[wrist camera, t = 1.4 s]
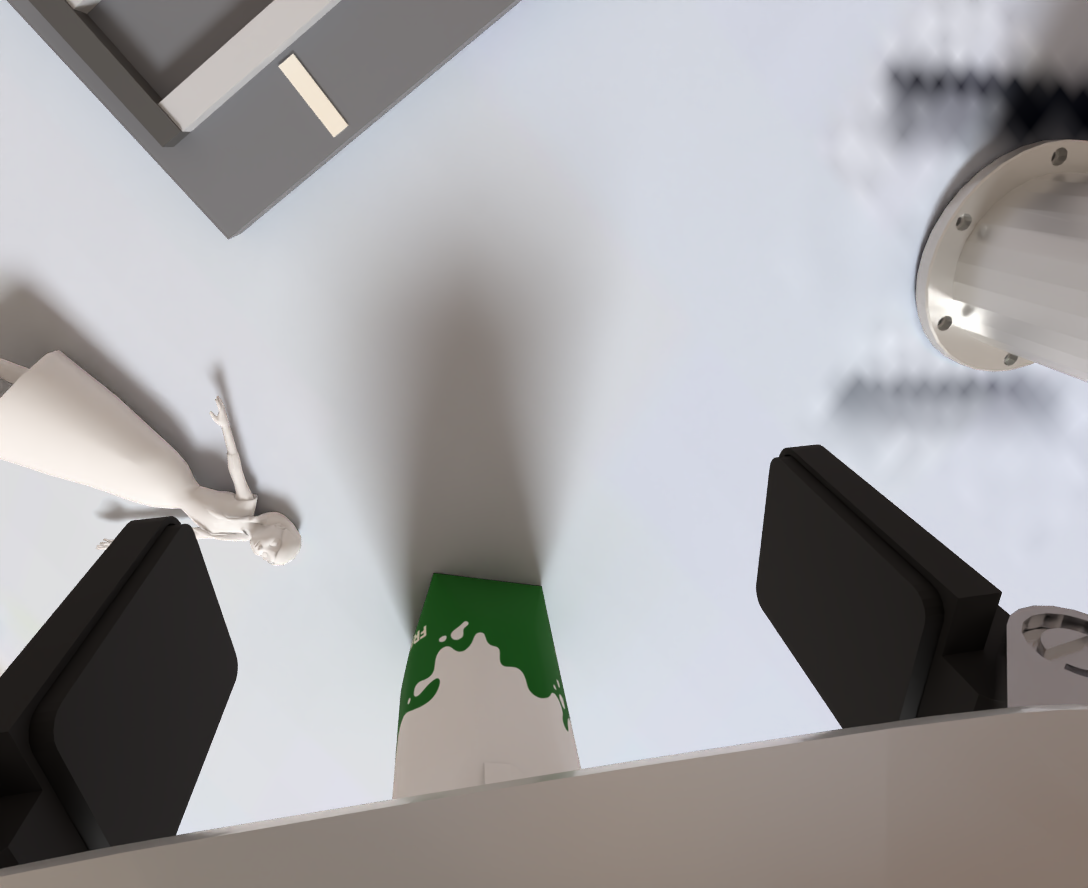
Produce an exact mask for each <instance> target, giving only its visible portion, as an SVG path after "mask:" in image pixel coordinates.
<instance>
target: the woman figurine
mask: <svg viewBox="0 0 1088 888" xmlns="http://www.w3.org/2000/svg"><path fill="white" fill-rule="evenodd" d="M0 377H1V378H3V379H4V380H6V381H8V382H10V383H12V384H13V385H12V386H11V387H10V388H9V390H8V391H7V392H6V393H5V394H4V395H3V396H2V397H1V398H0V459H2V460H5V461H8V462H11V463H14V464H17V465H20V466H23V467H26V468H29V469H33V470H36V471H39V472H42V473H45V474H48V475H51V476H54V477H58V478H62V479H65V480H69V481H72V482H76V483H79V484H83V485H87V486H90V487H93V488H96V489H99V490H101V491H104V492H107V493H110V494H113V495H116V496H119V497H121V498H124V499H127V500H129V501H133V502H136V503H140V504H143V505H147V506H150V507H158V508H169V509H175V508H181V509H182V510H183V511H184V512H185V513H186V514H187V515H188V516H189V517H190V518H191V519H192V520H193V522H194V523H195V524H197V525H198V526H199V527H195V528H193V531H194V533H195V536H196V539H207V538H215V539H217V540H225V541H243V542H244V541H247V540H250V545H251V548H252V550H253V552H254V553H255V554H256V555H258V556H262V557H263V560H267V562H268V563H270V562H272V563H274V564H272V565H277V566H278V565H279V566H280V565H284V564H286V563H288V562H290V561H291V560H293V559H294V558H295V557H296V556H297V554H298V552H299V551H300V548H301V535H300V534H299V532H298V531H297V529H296V527H295V526H294V525H293V523H292V522H291V521H290V520H289V519H288V518H287V517H286V516H285V515H283V514H281V513H278V512H267V513H263V514H261V515H259V516H254V513H255V508H256V503H257V495H256V494H252V493H251V490H250V488H249V486H248V484H247V482H246V480H245V477H244V474H243V471H242V467H241V461H240V457H239V454H238V451H237V449H236V445H235V442H234V438H233V435H232V432H231V428H230V425H229V421H228V418H227V414H226V411H225V407H224V405H223V403H222V401H221V399H220V398H219V396H217V399H215V400H216V403H217V406H218V410H219V413H218V416H215V415H214V414H213V413H212V411H210V413H209V414H210V415H211V416H212V418H213V420H214V421H215V422H216V423H217V424H218V425H220V426H221V427H222V431H223V435H224V439H225V443H226V447H227V461H228V469H229V472H230V475H231V477H232V480H233V482H234V485H235V490H236V494H235V493H232V492H228V491H218V490H214V489H210V488H206V487H202V486H200V485H199V484H198V483H197V481H196V480H195V478H194V476H193V474H192V472H191V470H190V468H189V465H188V464H187V463H186V462H185V460H184V459H183V458H182V457H181V456H180V454H179V453H178V452H177V451H176V450H175V449H174V448H173V447H172V446H171V445H169V444H168V443H167V442H166V441H165V440H164V439H163V438H162V437H161V436H160V435H159V434H157V433H156V432H155V431H154V430H153V429H152V428H151V427H150V426H149V425H148V424H147V423H145V422H144V421H143V420H142V419H141V418H140V417H139V416H138V415H137V414H136V413H135V412H134V411H132V410H131V409H130V408H129V407H128V406H127V405H126V404H125V403H124V402H123V401H122V400H120V399H119V398H118V397H117V396H116V395H115V394H113V393H112V392H111V391H110V390H108V389H107V388H106V387H105V386H103V385H102V384H101V383H100V382H98V381H97V380H96V379H95V378H93V377H92V376H91V375H90V374H88V373H87V372H86V371H85V370H83V369H82V368H81V367H80V366H78V365H77V364H76V363H75V362H73V361H72V360H71V359H70V358H68V357H67V356H66V355H65V354H63V353H62V352H61V351H60V350H56V351H53V352H50V353H47V354H46V355H44V356H43V357H42V358H41V359H40V360H39V361H38V362H37V363H35V364H34V365H33V366H32V367H31V368H30V369H29V368H26V367H23V366H21V365H18V364H15V363H12V362H10V361H7V360H4V359H2V358H0ZM103 540H105V541H107V542H101V543H100V544H103V545H97V548H96V549H107V548H108V547H109V545H110V544H111V543H112V542H113V540H108V539H103ZM270 564H271V563H270Z"/></svg>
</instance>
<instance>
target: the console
mask: <svg viewBox="0 0 1088 888" xmlns="http://www.w3.org/2000/svg"><path fill="white" fill-rule="evenodd" d="M7 1H8V2H9V3H10V5H11V6H12V7H13V8H14V9H15V10H16V11H17V12H18V13H19V14H20V15H21V16H22V17H23V19H24V20H25V21H26V22H27V23H28V24H29V25H30V26H31V27H32V28H33V29H34V30H35V31H36V33H37V34H38V35H39V36H40V37H41V38H42V39H43V40H44V41H45V42H46V43H47V44H48V46H49V47H50V48H51V49H52V50H53V51H54V52H55V53H56V54H57V55H58V56H59V57H60V58H61V60H62V61H63V62H64V63H65V64H66V65H67V66H68V67H69V68H70V69H71V70H72V71H73V72H74V74H75V75H76V76H77V77H78V78H79V79H80V80H81V81H82V82H83V83H84V84H85V85H86V86H87V88H88V89H89V90H90V91H91V92H92V93H93V94H94V95H95V96H96V97H97V98H98V99H99V101H100V102H101V103H102V104H103V105H104V106H105V107H106V108H107V109H108V110H109V111H110V112H111V113H112V115H113V116H114V117H115V118H116V119H117V120H118V121H119V122H120V123H121V124H122V125H123V126H124V127H125V129H126V130H127V131H128V132H129V133H130V134H131V135H132V136H133V137H134V138H135V139H136V140H137V141H138V143H139V144H140V145H141V146H142V147H143V148H144V149H145V150H146V151H147V152H148V153H149V154H150V155H151V157H152V158H153V159H154V160H155V161H156V162H157V163H158V164H159V165H160V166H161V167H162V168H163V170H164V171H165V172H166V173H167V174H168V175H169V176H170V177H171V178H172V179H173V180H174V181H175V182H176V184H177V185H178V186H179V187H180V188H181V189H182V190H183V191H184V192H185V193H186V194H187V195H188V196H189V198H190V199H191V200H192V201H193V202H194V203H195V204H196V205H197V206H198V207H199V208H200V209H201V210H202V212H203V213H204V214H205V215H206V216H207V217H208V218H209V219H210V220H211V221H212V222H213V223H214V225H215V226H216V227H217V228H218V229H219V230H220V231H221V232H222V233H223V234H224V235H225V236H226V237H227V239H230V238H232V237H234V236H237V235H239V234H241V233H242V232H243V231H245V230H246V229H247V228H248V227H249V226H251V225H252V224H253V223H254V222H255V221H257V220H258V219H259V218H260V217H261V216H263V215H264V214H265V213H266V212H267V211H269V210H270V209H271V208H272V207H273V206H275V205H276V204H277V203H278V202H279V201H281V200H282V199H283V198H284V197H285V196H287V195H288V194H289V193H290V192H291V191H293V190H294V189H295V188H296V187H297V186H299V185H300V184H301V183H302V182H303V181H305V180H306V179H307V178H308V177H309V176H311V175H312V174H313V173H314V172H316V171H317V170H318V169H319V168H320V167H322V166H323V165H324V164H325V163H326V162H328V161H329V160H330V159H331V158H332V157H334V156H335V155H336V154H337V153H338V152H340V151H341V150H342V149H343V148H344V147H346V146H347V145H348V144H349V143H350V142H352V141H353V140H354V139H355V138H356V137H358V136H359V135H360V134H361V133H362V132H364V131H365V130H366V129H367V128H368V127H370V126H371V125H372V124H373V123H374V122H376V121H377V120H378V119H379V118H381V117H382V116H383V115H384V114H385V113H387V112H388V111H389V110H390V109H391V108H393V107H394V106H395V105H396V104H397V103H399V102H400V101H401V100H402V99H403V98H405V97H406V96H407V95H408V94H409V93H411V92H412V91H413V90H414V89H415V88H417V87H418V86H419V85H420V84H421V83H423V82H424V81H425V80H426V79H427V78H429V77H430V76H431V75H432V74H433V73H435V72H436V71H437V70H438V69H439V68H441V67H442V66H443V65H444V64H445V63H447V62H448V61H449V60H450V59H452V58H453V57H454V56H455V55H456V54H458V53H459V52H460V51H461V50H462V49H464V48H465V47H466V46H467V45H468V44H470V43H471V42H472V41H473V40H474V39H476V38H477V37H478V36H479V35H480V34H482V33H483V32H484V31H485V30H486V29H488V28H489V27H490V26H491V25H492V24H494V23H495V22H496V21H497V20H498V19H500V18H501V17H502V16H503V15H504V14H506V13H507V12H508V11H509V10H510V9H512V8H513V7H514V6H515V5H517V4H518V3H519V2H520V1H521V0H7Z"/></svg>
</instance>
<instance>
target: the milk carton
mask: <svg viewBox="0 0 1088 888" xmlns="http://www.w3.org/2000/svg"><path fill="white" fill-rule="evenodd" d="M579 769H581V766H580V762H579V757H578V753H577V748H576V744H575V739H574V735H573V730H572V725H571V721H570V716H569V712H568V707H567V703H566V698H565V694H564V689H563V684H562V680H561V675H560V671H559V666H558V662H557V657H556V652H555V647H554V642H553V638H552V633H551V628H550V624H549V619H548V614H547V610H546V605H545V600H544V595H543V591H542V586H535V585H527V584H519V583H511V582H502V581H494V580H486V579H478V578H470V577H462V576H454V575H446V574H438V573H434V574H433V577H432V580H431V583H430V587H429V590H428V593H427V596H426V599H425V602H424V606H423V609H422V612H421V615H420V618H419V622H418V625H417V628H416V631H415V634H414V638H413V641H412V644H411V648H410V652H409V656H408V661H407V665H406V670H405V674H404V679H403V683H402V688H401V696H400V708H399V720H398V733H397V746H396V758H395V771H394V784H393V797H392V799H398V798H404V797H410V796H416V795H423V794H429V793H435V792H441V791H448V790H454V789H460V788H466V787H473V786H479V785H485V784H491V783H497V782H504V781H510V780H516V779H522V778H529V777H535V776H541V775H548V774H554V773H560V772H566V771H573V770H579Z"/></svg>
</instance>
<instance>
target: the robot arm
mask: <svg viewBox="0 0 1088 888" xmlns="http://www.w3.org/2000/svg"><path fill="white" fill-rule="evenodd" d="M916 303H917V312H918V317H919V320H920V322H921V325H922V328H923V331H924V333H925V334H926V336H927V338H928V339H929V341H930V342H931V344H932V345H933V346H934V347H935V348H936V349H937V350H938V351H939V352H941V353H942V354H943V355H944V356H945V357H947V358H949V359H951V360H953V361H955V362H957V363H959V364H962V365H964V366H967V367H970V368H973V369H975V370H983V371H992V372H996V371H1008V370H1013V369H1017V368H1020V367H1024V366H1027V365H1031V364H1033V363H1038V364H1040V365H1043V366H1045V367H1048V368H1051V369H1053V370H1056V371H1059V372H1061V373H1064V374H1067V375H1069V376H1072V377H1075V378H1077V379H1080V380H1083V381H1085V382H1088V141H1084V140H1069V139H1063V140H1044V141H1040V142H1036V143H1033V144H1029V145H1025V146H1022V147H1020V148H1018V149H1015V150H1013V151H1011V152H1009V153H1007V154H1005V155H1003V156H1001V157H999V158H998V159H996V160H995V161H994V162H992V163H991V164H989V165H988V166H986V167H985V168H983V169H982V170H981V171H979V172H978V173H977V174H976V175H975V176H974V177H973V178H972V179H971V180H970V181H969V182H968V183H967V184H966V185H964V186H963V187H962V188H961V189H960V191H959V192H958V193H957V194H956V196H955V197H954V198H953V199H952V201H951V202H950V203H949V204H948V206H947V207H946V208H945V210H944V211H943V213H942V215H941V216H940V218H939V220H938V221H937V223H936V225H935V226H934V228H933V230H932V232H931V234H930V236H929V239H928V241H927V244H926V246H925V248H924V251H923V253H922V258H921V262H920V266H919V270H918V274H917V284H916ZM756 592H757V598H758V601H759V604H760V606H761V608H762V610H763V611H764V613H765V614H766V616H767V617H768V619H769V620H770V622H771V623H772V625H773V626H774V628H775V629H776V630H777V632H778V633H779V635H780V636H781V638H782V639H783V641H784V642H785V644H786V645H787V647H788V648H789V650H790V651H791V653H792V654H793V656H794V657H795V659H796V660H797V662H798V663H799V665H800V666H801V668H802V669H803V671H804V672H805V673H806V675H807V676H808V678H809V679H810V681H811V682H812V684H813V685H814V687H815V688H816V690H817V691H818V693H819V694H820V696H821V697H822V699H823V700H824V702H825V703H826V705H827V706H828V708H829V709H830V711H831V712H832V714H833V715H834V716H835V718H836V719H837V721H838V722H839V724H840V725H841V727H842V728H843V729H838V730H831V731H825V732H818V733H812V734H805V735H799V736H792V737H785V738H779V739H772V740H766V741H759V742H753V743H746V744H740V745H733V746H727V747H720V748H714V749H707V750H701V751H694V752H688V753H681V754H674V755H668V756H661V757H655V758H649V759H642V760H636V761H630V762H623V763H617V764H611V765H604V766H598V767H592V768H585V769H579V770H573V771H566V772H560V773H554V774H548V775H541V776H535V777H529V778H522V779H516V780H510V781H504V782H497V783H491V784H485V785H479V786H473V787H466V788H460V789H454V790H448V791H441V792H435V793H429V794H423V795H416V796H410V797H404V798H398V799H392V800H386V801H380V802H374V803H368V804H362V805H356V806H350V807H344V808H338V809H332V810H325V811H319V812H313V813H307V814H301V815H295V816H289V817H283V818H277V819H271V820H265V821H259V822H253V823H247V824H241V825H235V826H229V827H222V828H216V829H210V830H204V831H199V832H193V833H187V834H181V835H176V833H177V831H178V828H179V825H180V823H181V820H182V818H183V815H184V812H185V810H186V807H187V805H188V802H189V800H190V797H191V794H192V792H193V789H194V787H195V784H196V782H197V779H198V776H199V774H200V771H201V769H202V766H203V763H204V761H205V758H206V756H207V753H208V751H209V748H210V745H211V743H212V740H213V738H214V735H215V733H216V730H217V727H218V725H219V722H220V720H221V717H222V714H223V712H224V709H225V707H226V704H227V702H228V699H229V696H230V694H231V691H232V689H233V686H234V684H235V681H236V677H237V671H238V663H237V657H236V653H235V650H234V647H233V644H232V641H231V638H230V635H229V632H228V629H227V627H226V624H225V621H224V618H223V615H222V612H221V609H220V606H219V603H218V600H217V597H216V594H215V591H214V588H213V585H212V583H211V580H210V577H209V574H208V571H207V568H206V565H205V562H204V559H203V556H202V553H201V550H200V547H199V544H198V542H197V539H196V536H195V533H194V531H193V528H192V527H191V526H190V525H188V524H181V523H180V522H179V521H178V519H177V518H175V517H173V516H169V517H160V518H151V519H142V520H134V521H130V522H129V523H128V524H127V525H126V526H125V527H124V528H123V530H122V531H121V532H120V533H119V534H118V536H117V537H116V538H115V539H114V540H113V542H112V543H111V544H110V545H109V547H108V548H107V549H106V550H105V551H104V553H103V554H102V555H101V556H100V557H99V559H98V560H97V561H96V562H95V563H94V565H93V566H92V567H91V568H90V569H89V571H88V572H87V573H86V574H85V575H84V577H83V578H82V579H81V580H80V582H79V583H78V584H77V585H76V586H75V588H74V589H73V590H72V591H71V592H70V594H69V595H68V596H67V597H66V598H65V600H64V601H63V602H62V603H61V604H60V606H59V607H58V608H57V609H56V611H55V612H54V613H53V614H52V615H51V617H50V618H49V619H48V620H47V621H46V623H45V624H44V625H43V626H42V627H41V629H40V630H39V631H38V632H37V633H36V635H35V636H34V637H33V638H32V640H31V641H30V642H29V643H28V644H27V646H26V647H25V648H24V649H23V650H22V652H21V653H20V654H19V655H18V656H17V658H16V659H15V660H14V661H13V662H12V664H11V665H10V666H9V667H8V669H7V670H6V671H5V672H4V673H3V675H2V676H1V677H0V888H1088V614H1085V613H1082V612H1079V611H1076V610H1072V609H1067V608H1061V607H1056V606H1030V607H1025V608H1021V609H1018V610H1017V611H1015V612H1014V613H1013V614H1011V615H1009V614H1008V613H1007V612H1006V611H1004V610H1003V609H1002V608H1001V607H1000V606H999V605H998V604H999V600H1000V597H1001V594H1002V592H1001V591H1000V590H999V589H998V588H996V587H995V586H994V585H993V584H991V583H990V582H989V581H988V580H986V579H985V578H984V577H983V576H982V575H980V574H979V573H978V572H977V571H975V570H974V569H973V568H972V567H970V566H969V565H968V564H967V563H966V562H964V561H963V560H962V559H961V558H959V557H958V556H957V555H956V554H954V553H953V552H952V551H951V550H950V549H948V548H947V547H946V546H945V545H943V544H942V543H941V542H940V541H938V540H937V539H936V538H935V537H934V536H932V535H931V534H930V533H929V532H927V531H926V530H925V529H924V528H923V527H921V526H920V525H919V524H918V523H916V522H915V521H914V520H913V519H911V518H910V517H909V516H908V515H907V514H905V513H904V512H903V511H902V510H900V509H899V508H898V507H897V506H895V505H894V504H893V503H892V502H891V501H889V500H888V499H887V498H886V497H884V496H883V495H882V494H881V493H879V492H878V491H877V490H876V489H875V488H873V487H872V486H871V485H870V484H868V483H867V482H866V481H865V480H863V479H862V478H861V477H860V476H859V475H857V474H856V473H855V472H854V471H852V470H851V469H850V468H849V467H847V466H846V465H845V464H844V463H843V462H841V461H840V460H839V459H838V458H836V457H835V456H834V455H833V454H832V453H830V452H829V451H828V450H827V449H825V448H824V447H823V446H821V445H808V446H799V447H790V448H785V449H783V450H782V451H781V453H780V455H779V457H777V458H774V459H773V460H772V461H771V464H770V470H769V478H768V487H767V496H766V504H765V513H764V522H763V531H762V539H761V548H760V557H759V565H758V574H757V583H756Z"/></svg>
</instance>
